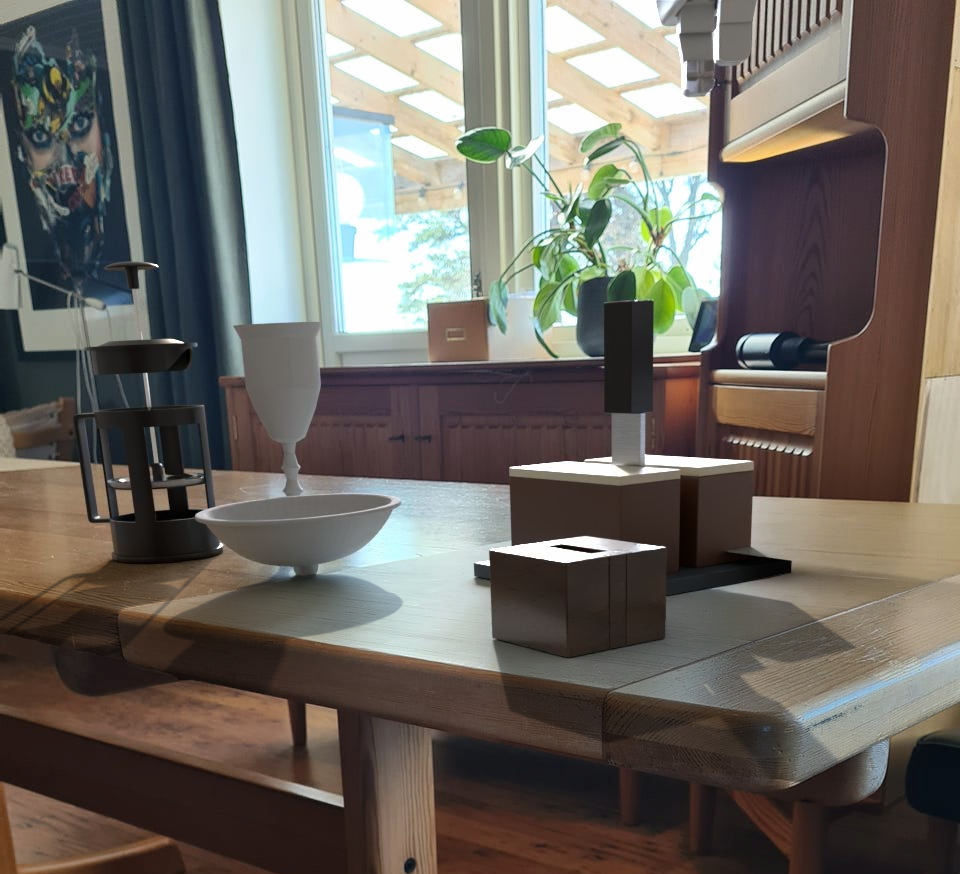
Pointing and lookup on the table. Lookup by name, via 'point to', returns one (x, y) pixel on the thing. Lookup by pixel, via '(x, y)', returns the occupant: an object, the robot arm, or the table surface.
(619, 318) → the knife
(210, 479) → the french press
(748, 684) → the table surface
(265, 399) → the chalice
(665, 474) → the brown box set
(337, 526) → the dish
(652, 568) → the knife block
